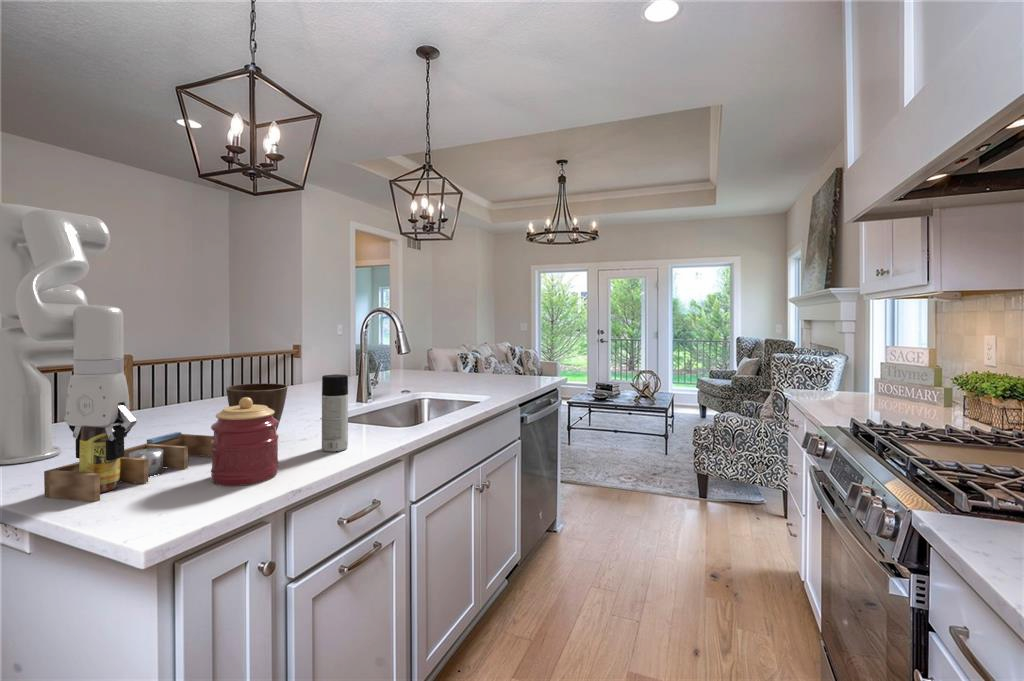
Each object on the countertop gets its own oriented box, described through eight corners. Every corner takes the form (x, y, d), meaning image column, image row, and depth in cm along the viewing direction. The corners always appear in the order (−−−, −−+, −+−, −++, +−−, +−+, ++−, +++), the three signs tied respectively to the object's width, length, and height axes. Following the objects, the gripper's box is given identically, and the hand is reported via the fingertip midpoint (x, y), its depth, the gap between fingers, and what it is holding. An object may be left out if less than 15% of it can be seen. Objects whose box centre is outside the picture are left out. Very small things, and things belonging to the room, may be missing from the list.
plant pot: (284, 435, 142) (284, 382, 141) (290, 447, 129) (290, 388, 128) (226, 440, 134) (226, 384, 133) (226, 454, 121) (226, 391, 120)
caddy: (43, 497, 90) (43, 467, 90) (180, 453, 121) (180, 430, 121) (94, 501, 88) (94, 471, 88) (220, 456, 119) (220, 433, 119)
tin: (121, 477, 102) (121, 454, 102) (147, 469, 108) (146, 447, 108) (145, 479, 101) (145, 456, 101) (170, 471, 107) (170, 449, 107)
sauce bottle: (95, 497, 91) (94, 394, 90) (70, 493, 92) (68, 392, 91) (129, 485, 97) (128, 389, 96) (105, 482, 98) (104, 388, 98)
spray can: (353, 448, 129) (353, 375, 128) (331, 454, 123) (332, 377, 122) (337, 444, 132) (338, 373, 132) (315, 449, 127) (316, 375, 126)
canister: (216, 471, 108) (216, 394, 107) (280, 465, 113) (280, 392, 112) (205, 490, 96) (205, 403, 95) (276, 483, 101) (277, 400, 100)
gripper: (41, 368, 91) (42, 460, 92) (118, 371, 89) (119, 466, 89) (82, 364, 99) (83, 450, 99) (154, 367, 96) (154, 455, 97)
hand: (100, 456), depth 94 cm, fingers closed on sauce bottle, 6 cm apart
